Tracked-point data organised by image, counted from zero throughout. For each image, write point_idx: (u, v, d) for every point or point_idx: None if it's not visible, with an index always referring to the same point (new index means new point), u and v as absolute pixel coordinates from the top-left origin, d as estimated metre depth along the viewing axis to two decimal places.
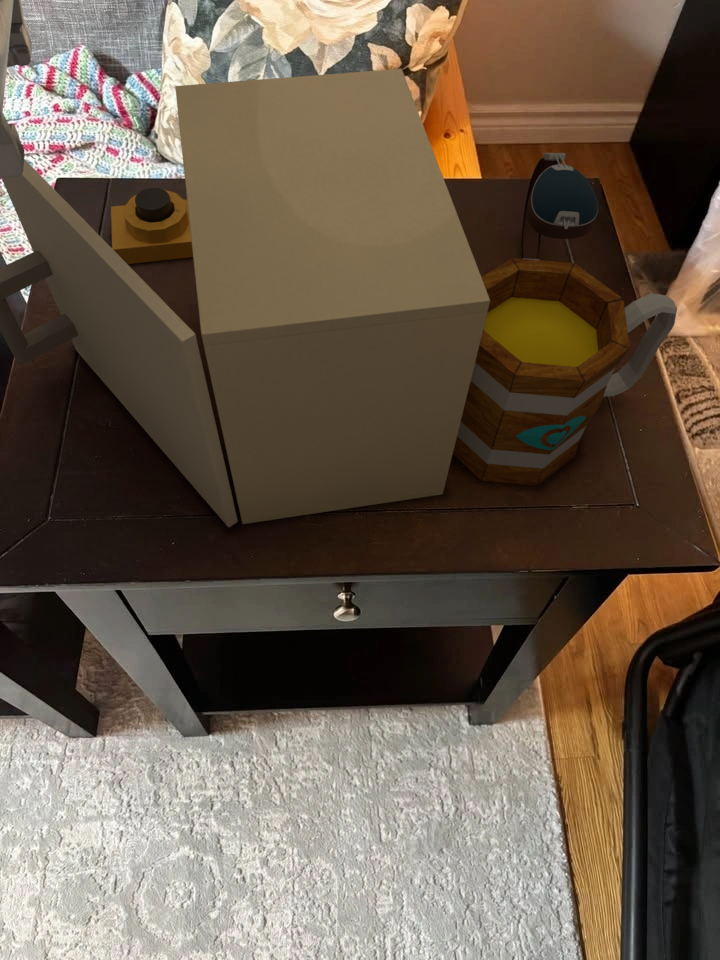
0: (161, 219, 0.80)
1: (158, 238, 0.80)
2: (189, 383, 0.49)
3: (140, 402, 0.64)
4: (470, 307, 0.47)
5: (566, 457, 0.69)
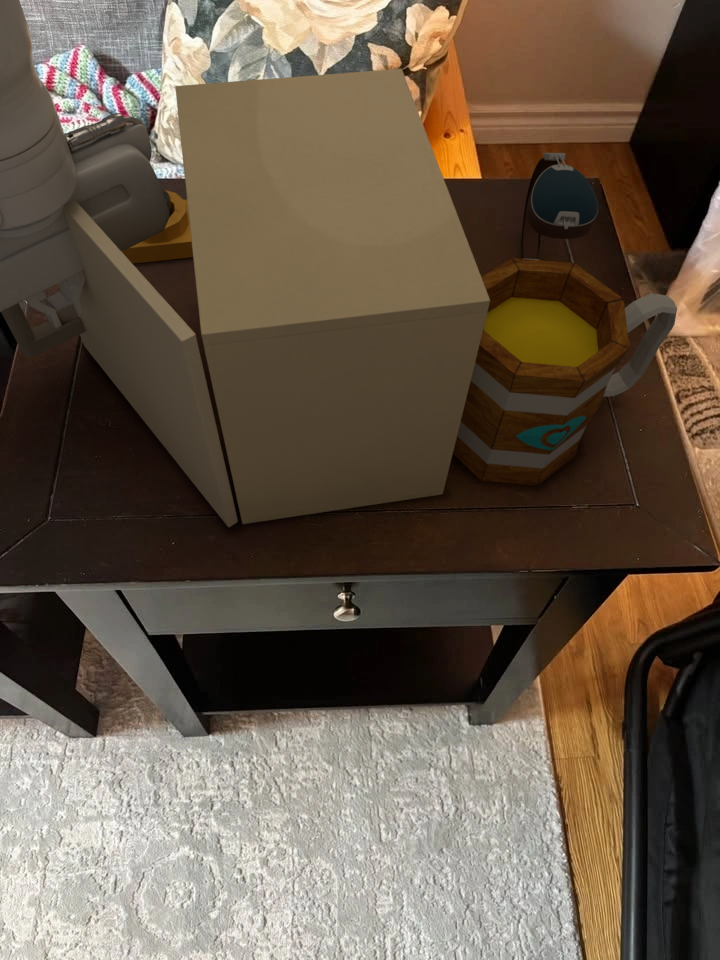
0: None
1: (158, 238, 0.80)
2: (189, 383, 0.49)
3: (144, 399, 0.64)
4: (470, 307, 0.47)
5: (566, 457, 0.69)
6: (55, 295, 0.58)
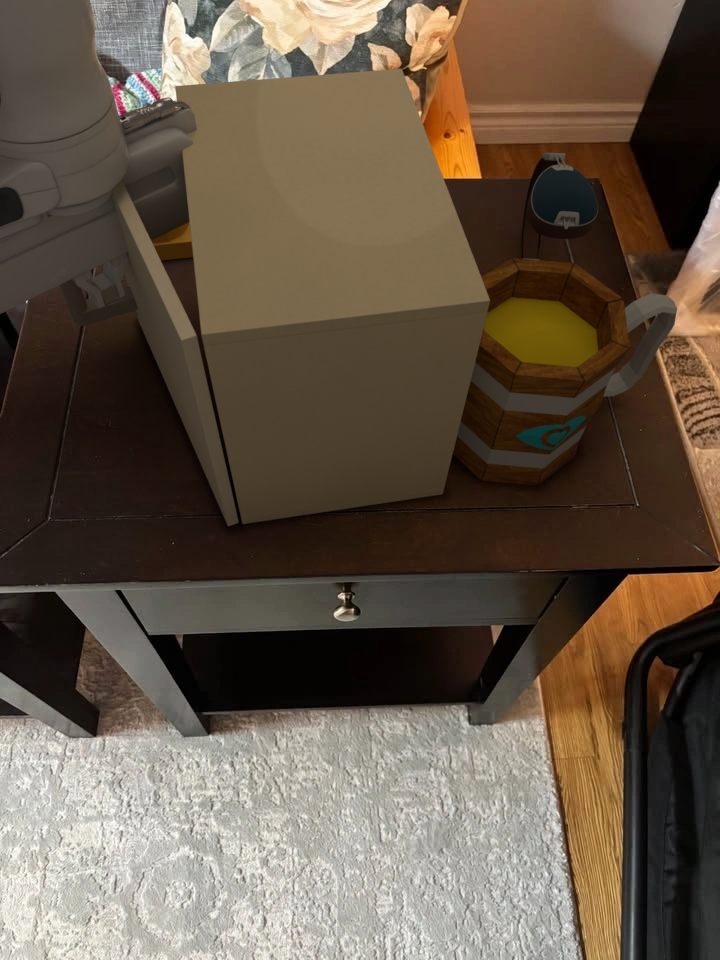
0: None
1: (158, 238, 0.80)
2: (190, 381, 0.49)
3: (172, 386, 0.65)
4: (470, 307, 0.47)
5: (566, 457, 0.69)
6: (99, 276, 0.60)
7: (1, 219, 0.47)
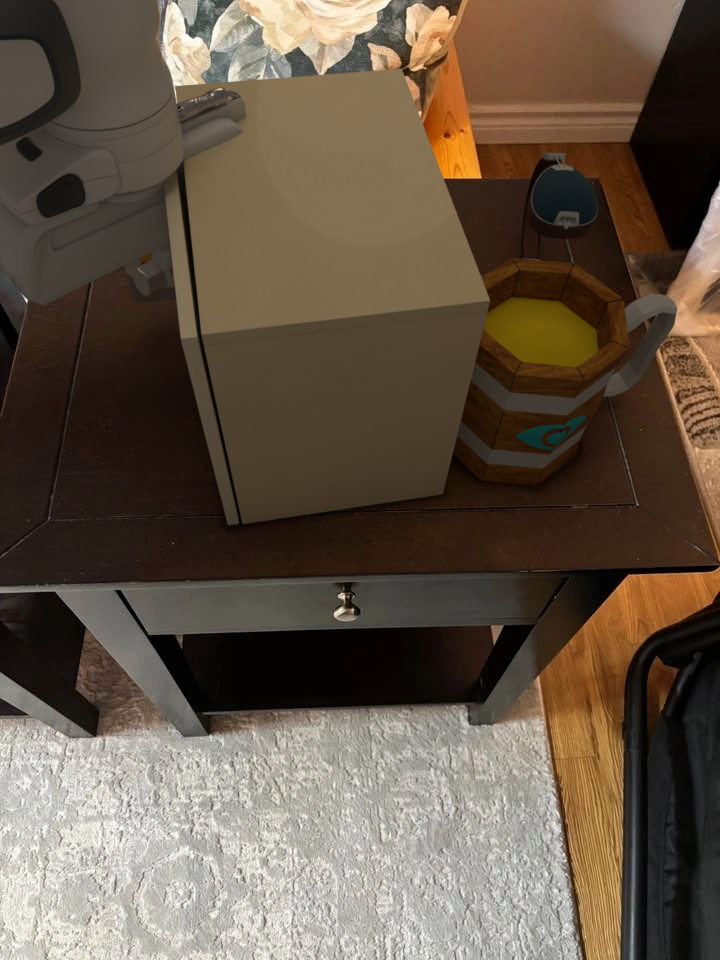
0: None
1: None
2: None
3: None
4: (470, 307, 0.47)
5: (566, 457, 0.69)
6: (146, 264, 0.61)
7: (64, 205, 0.48)
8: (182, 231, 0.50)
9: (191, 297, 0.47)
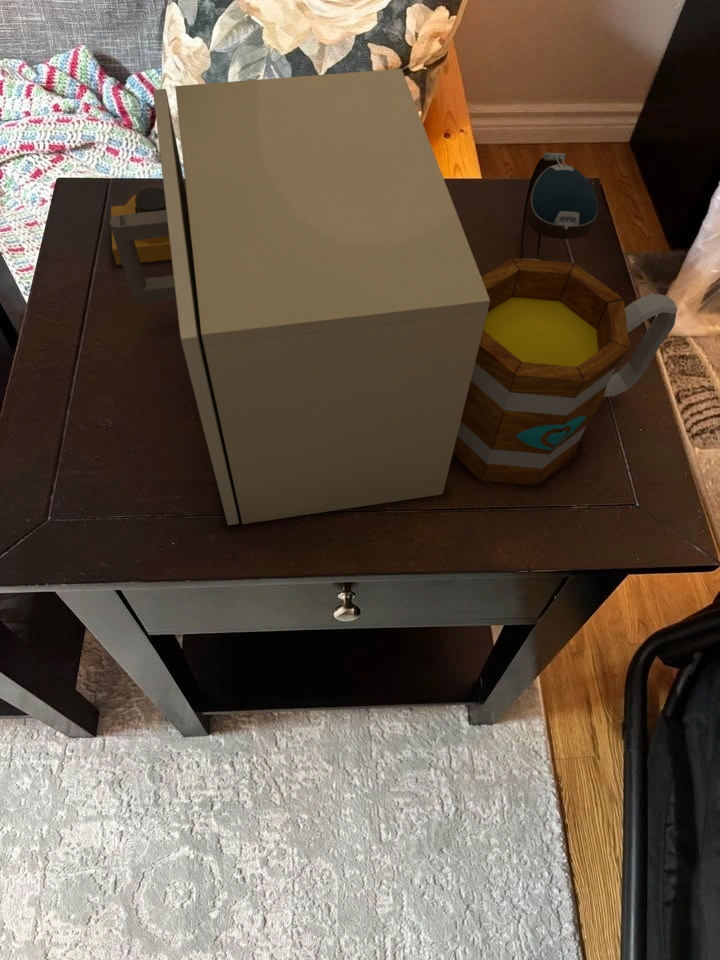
0: None
1: (158, 238, 0.80)
2: None
3: None
4: (470, 307, 0.47)
5: (566, 457, 0.69)
6: None
7: None
8: (182, 231, 0.50)
9: (191, 297, 0.47)
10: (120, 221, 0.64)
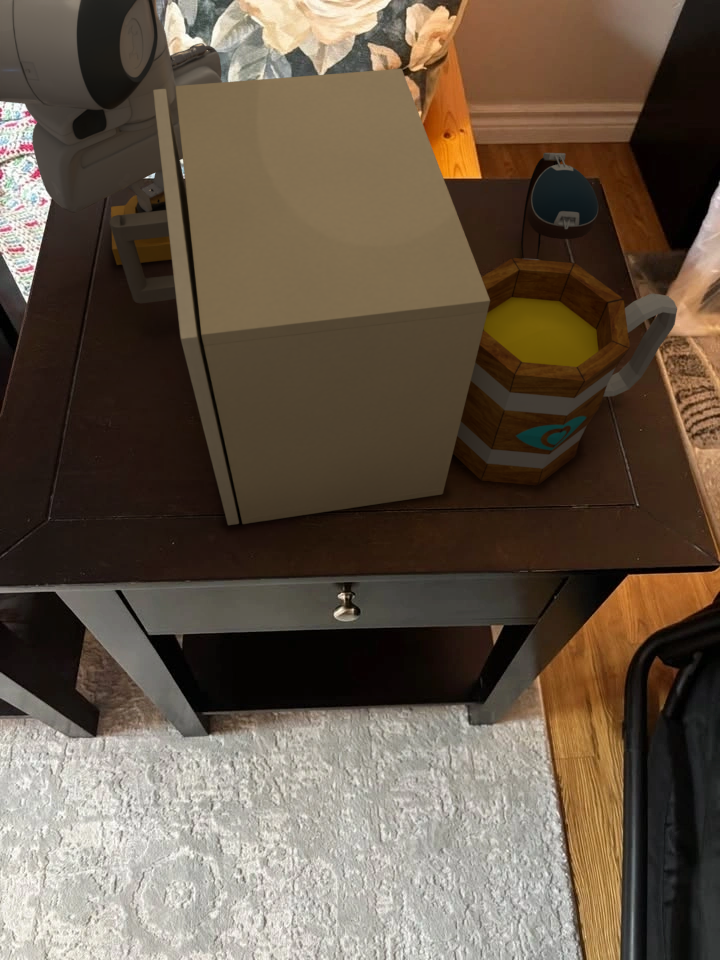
0: None
1: (158, 238, 0.80)
2: None
3: None
4: (470, 307, 0.47)
5: (566, 457, 0.69)
6: (147, 187, 0.78)
7: (91, 130, 0.66)
8: (182, 231, 0.50)
9: (191, 297, 0.47)
10: (120, 221, 0.64)
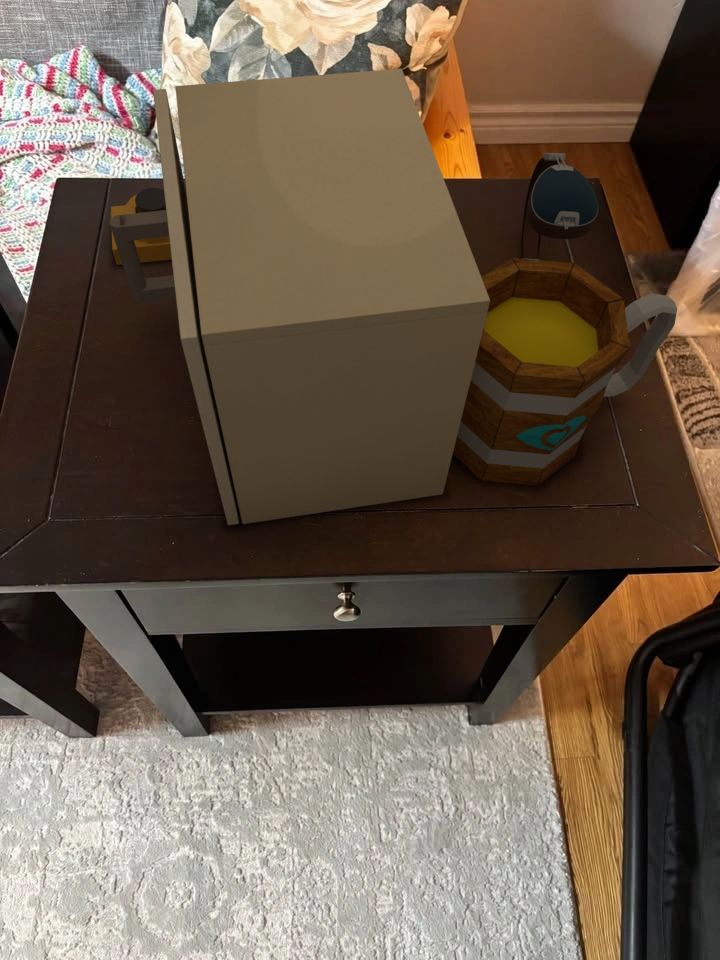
0: None
1: (158, 238, 0.80)
2: None
3: None
4: (470, 307, 0.47)
5: (566, 457, 0.69)
6: None
7: None
8: (182, 231, 0.50)
9: (191, 297, 0.47)
10: (120, 221, 0.64)
